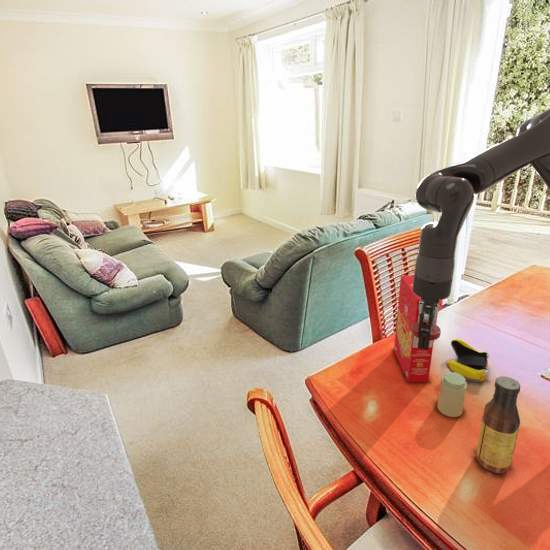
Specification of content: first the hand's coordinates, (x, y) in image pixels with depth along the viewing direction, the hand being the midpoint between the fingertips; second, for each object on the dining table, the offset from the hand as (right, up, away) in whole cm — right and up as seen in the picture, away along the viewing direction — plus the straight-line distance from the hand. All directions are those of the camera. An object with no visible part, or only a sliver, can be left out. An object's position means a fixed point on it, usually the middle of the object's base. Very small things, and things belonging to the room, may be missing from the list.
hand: (424, 340), depth 85 cm
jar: (+9, -18, +6) cm, 21 cm away
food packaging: (+5, -11, +22) cm, 25 cm away
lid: (0, +3, -1) cm, 3 cm away
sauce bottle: (+11, -24, -8) cm, 27 cm away
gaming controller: (+19, -12, +20) cm, 30 cm away
